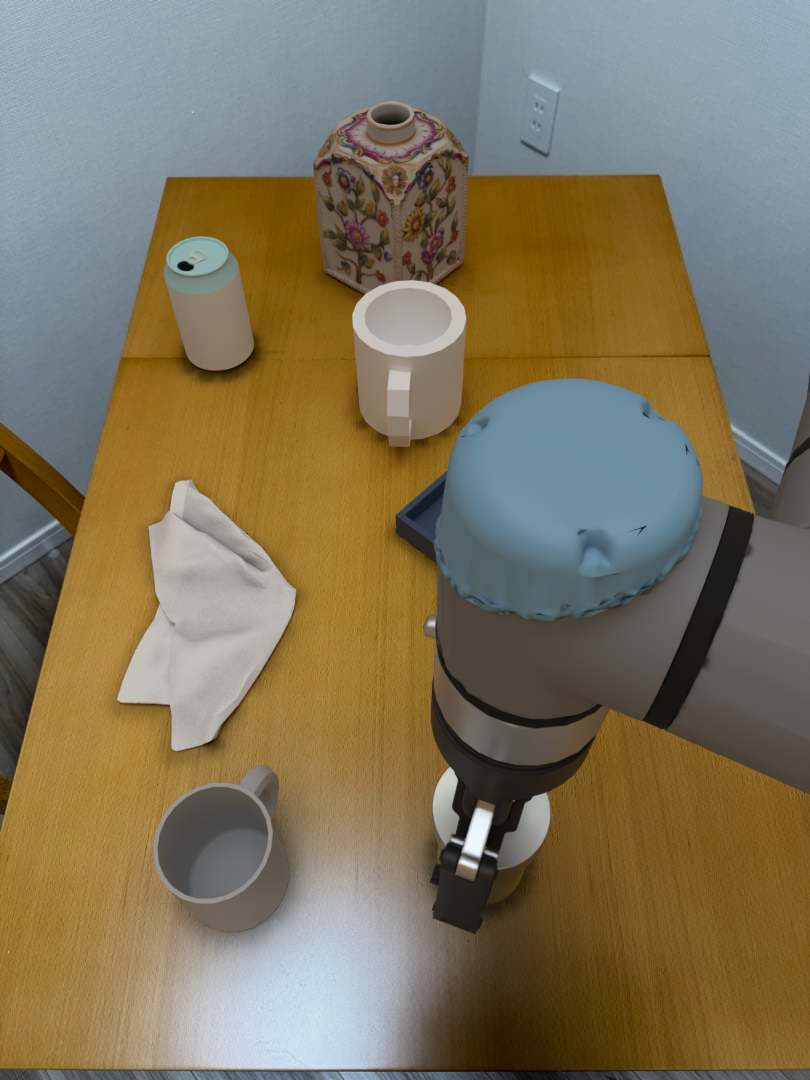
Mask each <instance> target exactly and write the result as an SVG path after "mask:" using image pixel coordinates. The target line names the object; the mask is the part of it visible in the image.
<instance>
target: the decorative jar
mask: <svg viewBox="0 0 810 1080" xmlns="http://www.w3.org/2000/svg"><path fill="white" fill-rule="evenodd" d="M469 161H470V160H469V154H468V153H467V151H466V150H465V148H464V147H463V145H462V143H461V142H460V140H458V139H457V138H456V135H455V134H454V133H453V132H452V131H451V130H450V128H449V127H448V125H447V124H446V122H445V121H444V120H443V119H442V118H440V117H438V116H435V115H433V114H431V113H429V112H427V111H425V110H423V109H419V108H417V107H415V106H410V105H409V104H406V103H405V102H400V101H393V100H388V101H382V102H379V103H377V104H376V105H373V106H367V107H362V108H360V109H358V110H357V111H355V112H353V113H351V114H349V115H347V116H345V117H344V118H343V119H341V120H340V121H338V122H337V123H336V124H335V125H334V126H333V128H332V130H331V131H330V132H329V134H328V136H327V138H326V139H325V141H324V143H323V145H322V146H321V147H320V149H319V151H318V153H317V155H316V157H315V159H314V160H313V163H312V172H313V180H314V181H313V182H314V190H315V201H316V202H315V203H316V213H317V221H318V233H319V240H320V249H321V258H322V264H323V271H324V273H325V274H328V275H330V276H331V277H332V278H335V279H336V280H339V281H340V282H341V283H343V284H345V285H347V286H349V287H350V288H352V289H354V290H356V291H358V292H360V293H361V294H363V296H364V295H365V294H366V293H368V292H370V291H371V290H373V289H375V288H377V287H379V286H381V285H384V284H388V283H392V282H395V281H408V280H415V281H422V282H429V283H432V284H435V285H438V283H439V282H441V281H442V280H443V279H445V278H446V277H447V276H448V275H449V274H451V273H452V272H454V271H455V270H456V269H457V268H459V267H460V266H461V265H462V264H463V263H464V260H465V259H464V258H465V246H466V231H467V213H468V212H467V211H468V185H469V183H468V182H469V163H470V162H469Z"/></svg>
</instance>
